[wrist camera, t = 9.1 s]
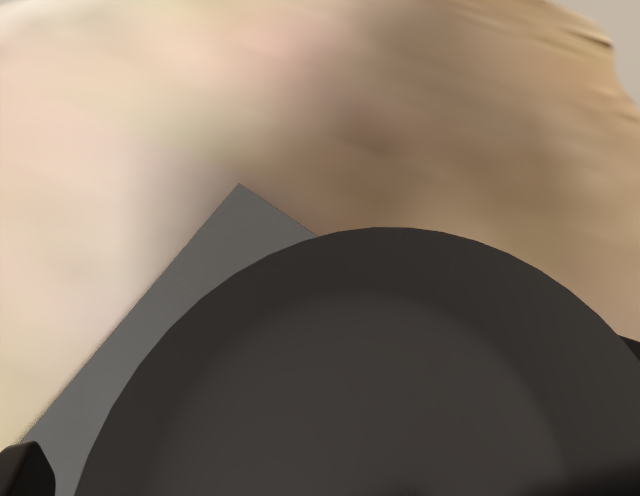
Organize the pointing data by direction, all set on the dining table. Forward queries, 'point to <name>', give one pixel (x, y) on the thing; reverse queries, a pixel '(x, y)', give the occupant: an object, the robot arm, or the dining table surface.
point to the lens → (378, 382)
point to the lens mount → (158, 324)
